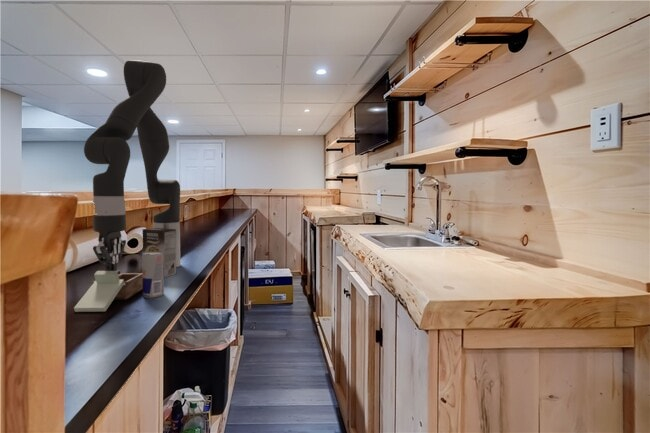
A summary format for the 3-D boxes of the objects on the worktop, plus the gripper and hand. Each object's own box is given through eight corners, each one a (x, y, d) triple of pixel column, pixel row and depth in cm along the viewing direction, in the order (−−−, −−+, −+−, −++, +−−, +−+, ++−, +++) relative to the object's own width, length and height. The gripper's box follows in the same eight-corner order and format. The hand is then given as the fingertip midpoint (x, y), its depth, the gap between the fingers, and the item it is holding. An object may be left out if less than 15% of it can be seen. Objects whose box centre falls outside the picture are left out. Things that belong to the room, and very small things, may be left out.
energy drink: (144, 293, 103) (143, 252, 103) (164, 291, 105) (163, 251, 104) (141, 298, 98) (140, 255, 98) (163, 297, 100) (162, 254, 100)
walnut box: (118, 286, 111) (117, 270, 110) (149, 286, 111) (149, 270, 111) (92, 300, 97) (91, 282, 96) (128, 299, 98) (127, 281, 97)
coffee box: (142, 275, 124) (141, 229, 123) (156, 271, 131) (155, 227, 129) (164, 278, 122) (163, 230, 121) (177, 273, 128) (176, 228, 127)
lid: (97, 283, 97) (93, 270, 95) (124, 283, 98) (121, 270, 96) (75, 311, 88) (70, 298, 86) (105, 311, 88) (101, 297, 86)
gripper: (111, 215, 90) (113, 283, 91) (135, 211, 103) (136, 271, 104) (79, 214, 89) (82, 283, 91) (107, 211, 103) (109, 271, 104)
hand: (111, 277), depth 98 cm, fingers closed
